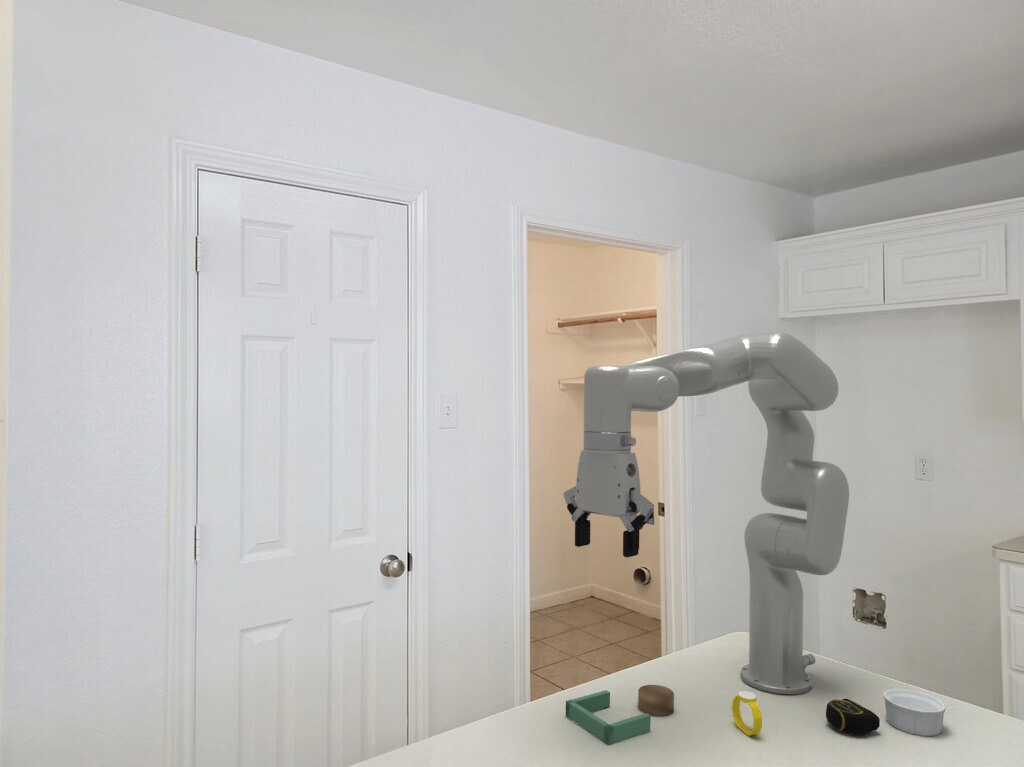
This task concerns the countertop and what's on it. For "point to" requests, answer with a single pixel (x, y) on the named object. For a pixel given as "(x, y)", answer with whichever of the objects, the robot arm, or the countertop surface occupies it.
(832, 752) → the countertop surface
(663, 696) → the puck
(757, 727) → the watch
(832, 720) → the tape measure
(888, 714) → the ramekin
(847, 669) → the countertop surface
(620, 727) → the green u-shaped frame
